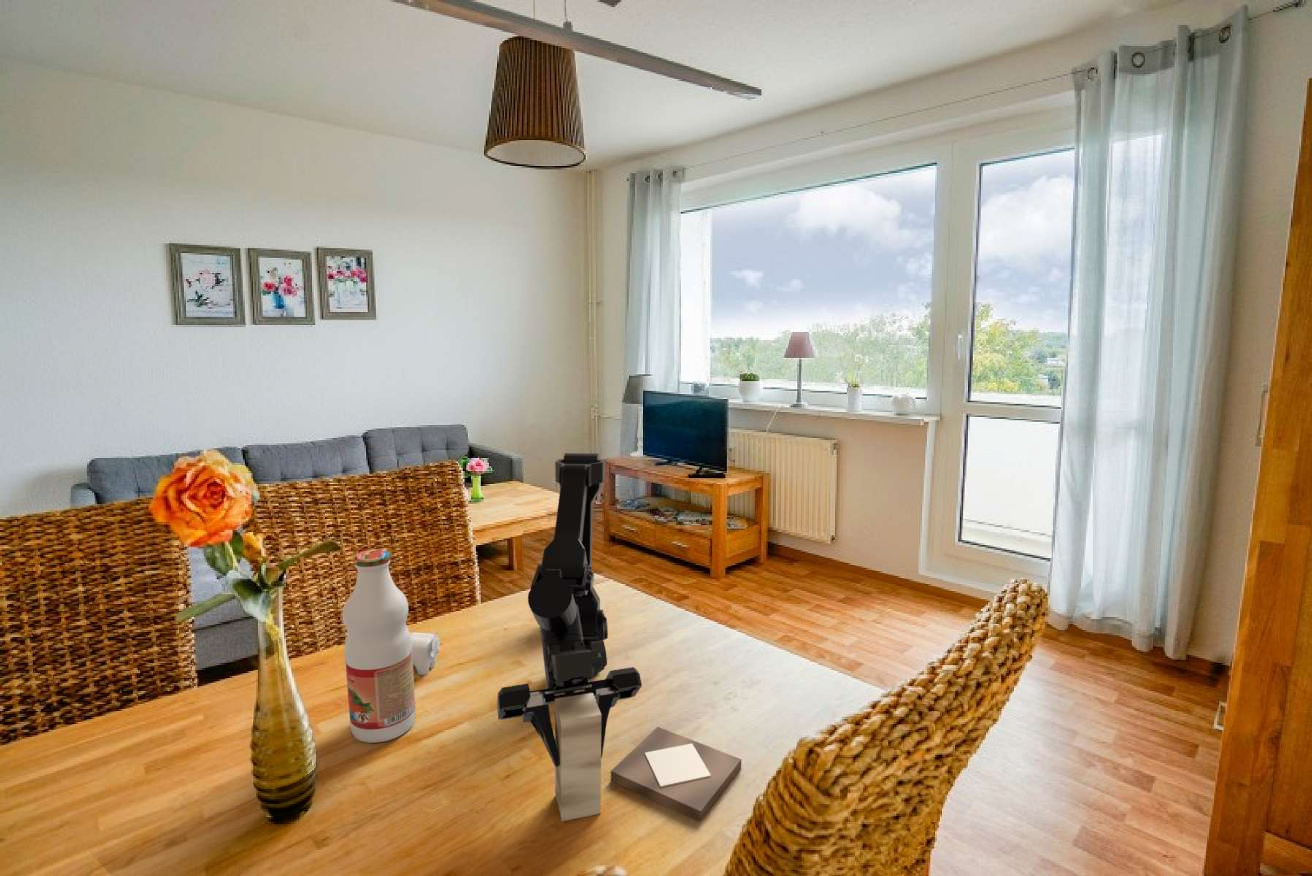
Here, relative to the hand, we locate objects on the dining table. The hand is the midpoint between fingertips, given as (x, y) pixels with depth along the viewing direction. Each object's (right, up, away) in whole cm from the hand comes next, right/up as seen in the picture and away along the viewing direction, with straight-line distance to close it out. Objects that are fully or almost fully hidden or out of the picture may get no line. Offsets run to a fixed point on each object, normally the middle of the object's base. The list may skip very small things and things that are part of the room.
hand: (578, 762), depth 84 cm
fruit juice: (-33, -4, +19) cm, 38 cm away
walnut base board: (+13, -6, +8) cm, 16 cm away
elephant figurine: (-33, -1, +37) cm, 49 cm away
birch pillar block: (-1, -7, +3) cm, 7 cm away
